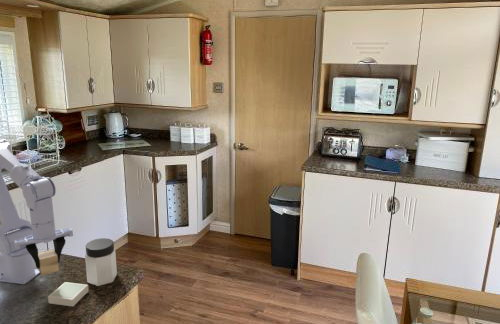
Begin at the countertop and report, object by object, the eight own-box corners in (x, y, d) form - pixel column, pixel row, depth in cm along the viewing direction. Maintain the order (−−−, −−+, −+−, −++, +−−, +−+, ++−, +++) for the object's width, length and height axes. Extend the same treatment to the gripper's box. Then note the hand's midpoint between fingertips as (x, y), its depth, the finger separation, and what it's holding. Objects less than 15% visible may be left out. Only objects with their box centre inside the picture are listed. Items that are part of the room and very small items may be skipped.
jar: (90, 289, 112) (86, 252, 109) (84, 276, 119) (81, 242, 116) (120, 280, 117) (118, 245, 114) (113, 269, 124) (111, 235, 121)
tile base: (48, 303, 105) (47, 296, 104) (65, 288, 112) (64, 281, 112) (73, 306, 104) (72, 299, 103) (88, 291, 111) (87, 284, 111)
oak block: (38, 269, 109) (36, 253, 108) (55, 264, 112) (53, 249, 111) (41, 275, 106) (39, 259, 104) (59, 270, 109) (57, 255, 107)
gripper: (15, 232, 98) (21, 278, 101) (74, 219, 107) (78, 262, 110) (11, 223, 103) (17, 267, 106) (67, 212, 112) (71, 253, 115)
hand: (47, 264), depth 108 cm, fingers closed on oak block, 4 cm apart
